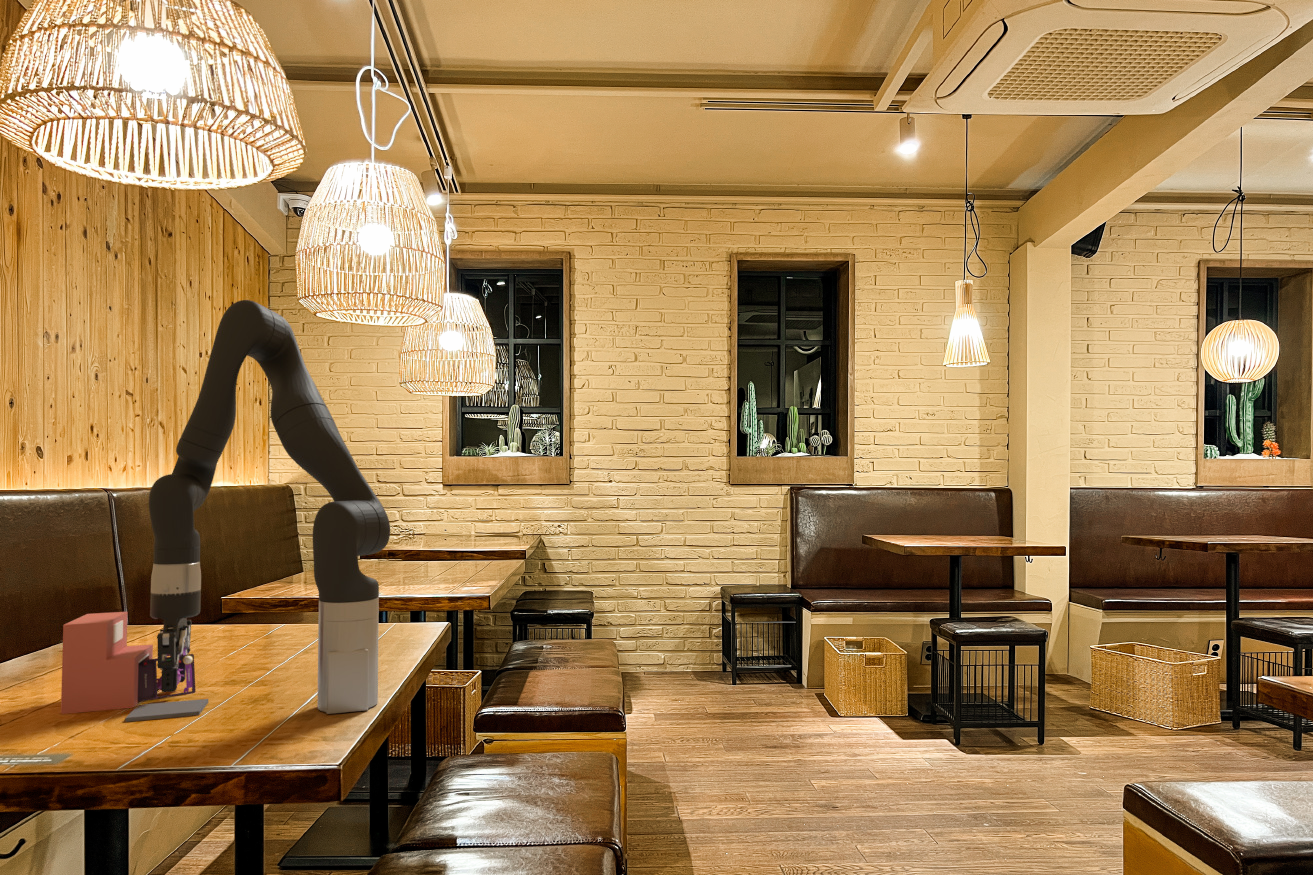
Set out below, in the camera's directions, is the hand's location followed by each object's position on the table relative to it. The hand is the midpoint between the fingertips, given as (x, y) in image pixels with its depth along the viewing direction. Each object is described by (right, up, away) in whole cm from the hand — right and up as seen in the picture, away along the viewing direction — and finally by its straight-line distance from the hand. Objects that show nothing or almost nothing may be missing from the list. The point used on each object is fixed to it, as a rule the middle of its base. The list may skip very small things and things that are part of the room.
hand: (173, 686), depth 142 cm
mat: (+6, -1, -11) cm, 12 cm away
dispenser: (-8, -1, -4) cm, 9 cm away
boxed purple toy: (-2, -2, 0) cm, 3 cm away
